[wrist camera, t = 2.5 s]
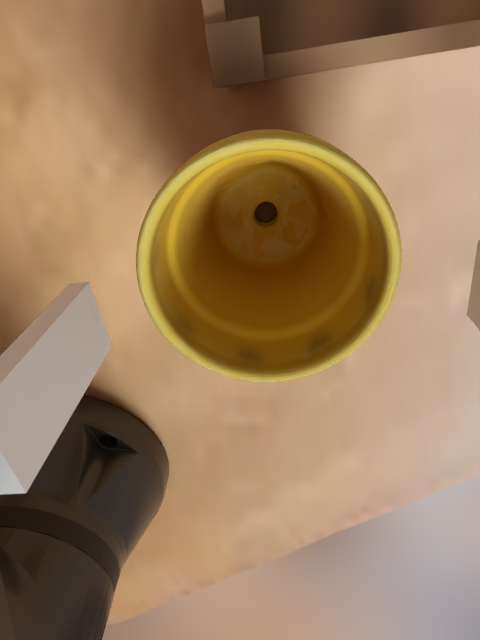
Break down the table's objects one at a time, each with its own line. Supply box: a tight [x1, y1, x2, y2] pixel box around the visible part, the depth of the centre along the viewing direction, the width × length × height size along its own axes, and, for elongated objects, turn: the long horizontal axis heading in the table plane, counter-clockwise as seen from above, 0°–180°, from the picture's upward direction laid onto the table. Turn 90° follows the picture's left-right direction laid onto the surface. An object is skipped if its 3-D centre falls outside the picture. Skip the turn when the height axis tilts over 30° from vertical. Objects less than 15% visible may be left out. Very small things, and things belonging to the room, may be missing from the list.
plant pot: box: [136, 129, 402, 382], centre depth 20 cm, size 10×10×10 cm
